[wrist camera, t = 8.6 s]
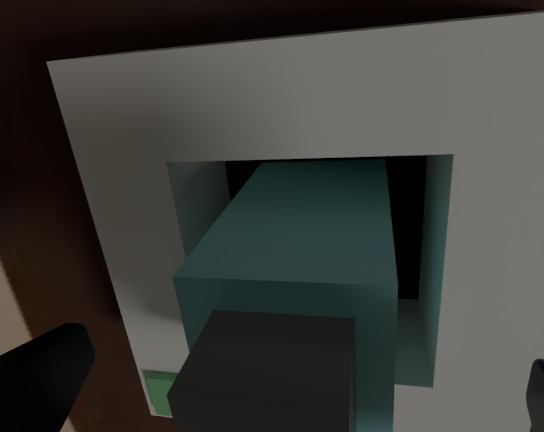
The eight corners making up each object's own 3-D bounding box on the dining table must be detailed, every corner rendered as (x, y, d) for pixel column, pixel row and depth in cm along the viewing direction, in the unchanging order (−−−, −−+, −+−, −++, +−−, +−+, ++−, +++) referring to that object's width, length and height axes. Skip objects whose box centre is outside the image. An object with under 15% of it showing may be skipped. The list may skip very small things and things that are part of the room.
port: (541, 10, 10) (637, 3, 7) (487, 359, 15) (525, 473, 11) (134, 51, 13) (37, 62, 9) (195, 336, 18) (147, 422, 14)
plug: (385, 159, 13) (407, 380, 5) (383, 269, 14) (398, 569, 7) (261, 162, 14) (112, 353, 6) (272, 265, 15) (167, 524, 7)
